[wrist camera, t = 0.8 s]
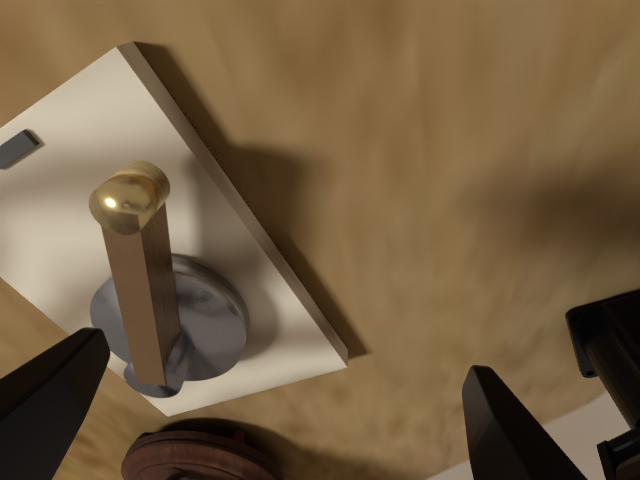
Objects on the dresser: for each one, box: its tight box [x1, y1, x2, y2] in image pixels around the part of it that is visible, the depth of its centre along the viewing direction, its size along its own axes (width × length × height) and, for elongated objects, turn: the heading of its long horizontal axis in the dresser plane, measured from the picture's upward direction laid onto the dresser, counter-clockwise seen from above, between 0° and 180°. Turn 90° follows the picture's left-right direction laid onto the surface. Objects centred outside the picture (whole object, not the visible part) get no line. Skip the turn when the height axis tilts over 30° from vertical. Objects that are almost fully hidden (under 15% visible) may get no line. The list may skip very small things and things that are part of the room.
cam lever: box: [89, 160, 250, 398], centre depth 21 cm, size 15×9×4 cm, turn 173°
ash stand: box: [0, 42, 348, 417], centre depth 24 cm, size 22×16×2 cm
